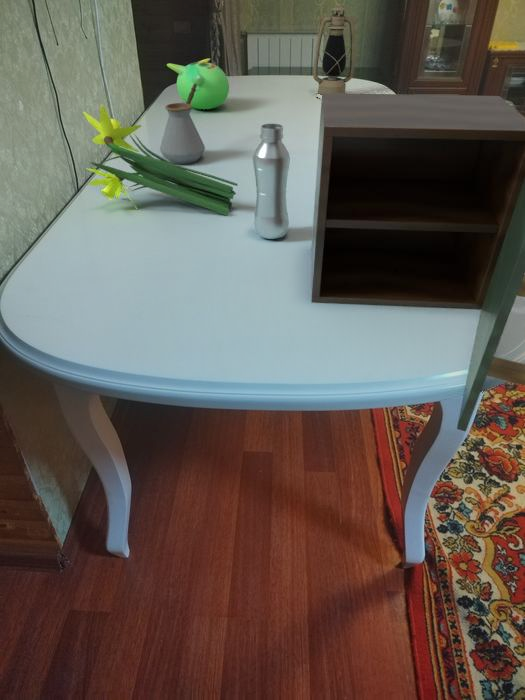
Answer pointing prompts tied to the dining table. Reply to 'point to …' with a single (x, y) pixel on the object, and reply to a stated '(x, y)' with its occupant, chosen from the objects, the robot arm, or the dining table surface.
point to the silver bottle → (271, 183)
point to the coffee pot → (181, 134)
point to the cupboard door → (498, 315)
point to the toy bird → (202, 84)
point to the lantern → (334, 52)
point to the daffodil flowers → (154, 170)
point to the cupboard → (413, 198)
